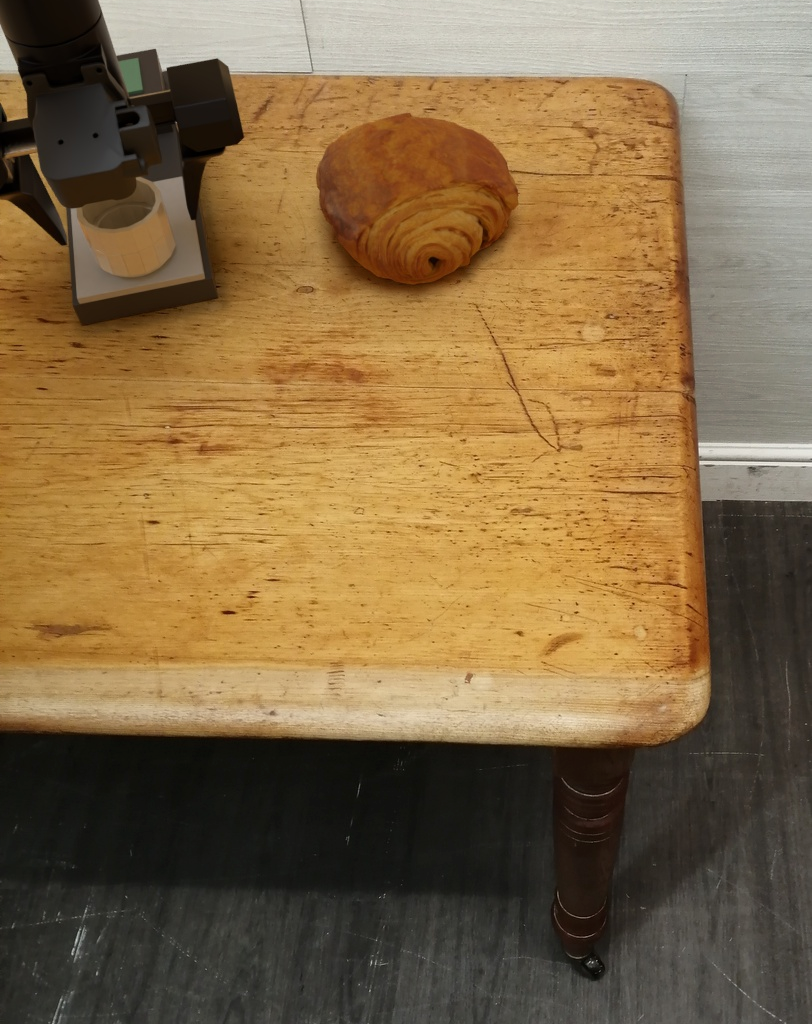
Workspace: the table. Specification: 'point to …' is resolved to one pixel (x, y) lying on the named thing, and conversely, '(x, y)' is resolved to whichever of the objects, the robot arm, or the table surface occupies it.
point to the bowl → (129, 232)
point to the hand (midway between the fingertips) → (129, 228)
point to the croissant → (415, 195)
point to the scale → (190, 259)
